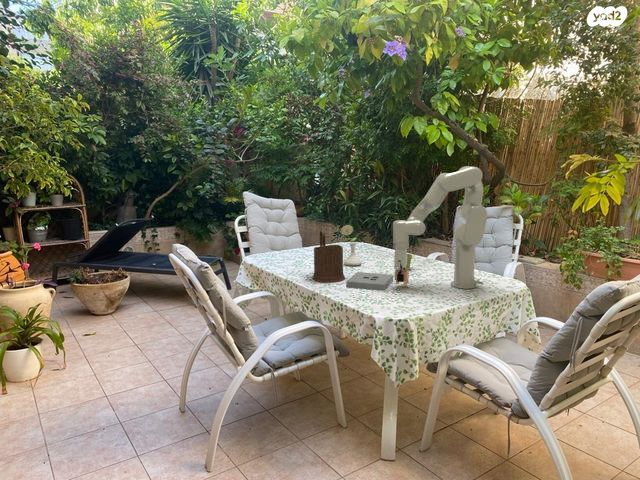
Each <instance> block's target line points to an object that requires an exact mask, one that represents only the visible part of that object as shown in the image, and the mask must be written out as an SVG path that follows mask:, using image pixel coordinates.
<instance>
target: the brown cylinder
mask: <svg viewBox="0 0 640 480" xmlns="http://www.w3.org/2000/svg"><path fill="white" fill-rule="evenodd" d="M313 262H314V263H313V264H314V265H313V266H314V267H313V271H314V273H313V276H312V279H313V280H314V282H315V283H320V284H336V283H341V282H343V281H345V280H346V277H345V275H344V247H343V246H341V245H339V244H327V245H326V234H325V231H324V230H319V246H315V247H313ZM313 280H312V281H313Z"/></svg>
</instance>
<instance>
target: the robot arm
mask: <svg viewBox="0 0 640 480" xmlns="http://www.w3.org/2000/svg"><path fill="white" fill-rule="evenodd" d="M482 180H483V172H482V169H481V168H479V167H477V166H471V165H470V166H468V165H466V166H462V167H460V168H459V169H458V171H455V172H450V173H449V172H443V173H441V174H439V175H437V177H436V179H435V180H434V181H433V183H432V185H431V186H430V188H429V189H428V191H427V193H426V194H425V196H424V197H423V198H422V199H421V201H420V202H419V203H418V204H417V205H416V207H415V208H414V209H413V210H412V212H411V213H410V215H409V217H408V218H407V220H402V219H400V220H394V221H393V222H392V231H393V233H392V236H393V237H392V238H393V240H392V241H393V249H394V258H393V259H394V261H393V262H394V266H393V268H394V269H397V282H399V283H404V274H403V269H406V265H407V254H408V249H409V248H410V247H409V244H410V242H409V240H410V239H409V238H410V236H420V235H422V234H424V233H425V232H426V224H425V222H424V221H425V219H426V218H427V217H428V215H429V214H430V213H432V212H434V211H435V210H437V209H438V208H439V207H440V206H441V204H443V202H444V200H445V198H446V197H447V196H448V194H449V192H455V191H459V190H463V189H464V198H463V201H462V207H461V211H460V215H461V218H462V219H463V221H465V223H461V224H459V225H458V226H457V227H456V228H455V230H454V271H453V273H454V274H453V280H452V281H450V286H451V287H454V288H456V289H465V290H467V289H469V290H471V289H475V288H477V284H478V285H483V284H484V280H483V279H480V278H479V279H477V278H475V277H476V276H475V258H476V257H475V256H476V246H478V245H479V244H480V243H482V240H483V239H484V234H485V229H486V225H487V222H488V221H487V220H488V211H487V208H486V207H484V206H483V205H482V203H483V196H484V185H483V182H482ZM400 269H402V271H401V270H400Z"/></svg>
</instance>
